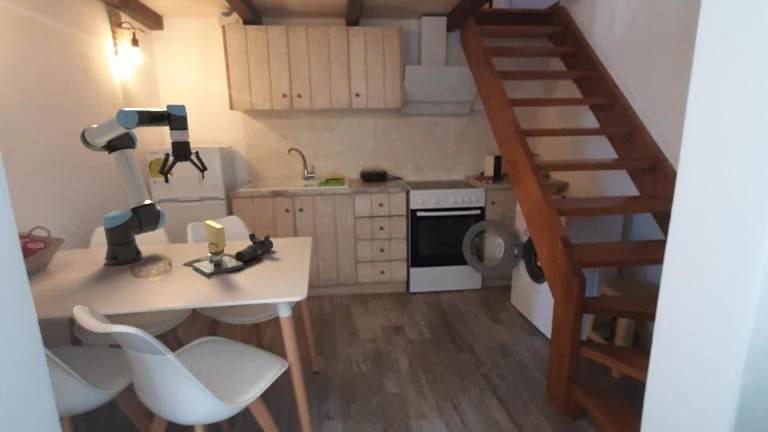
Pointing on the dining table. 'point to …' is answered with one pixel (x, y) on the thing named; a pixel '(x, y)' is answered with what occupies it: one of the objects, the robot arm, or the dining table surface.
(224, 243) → the lever handle
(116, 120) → the robot arm
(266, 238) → the laser sight
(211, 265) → the post base
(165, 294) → the dining table surface
